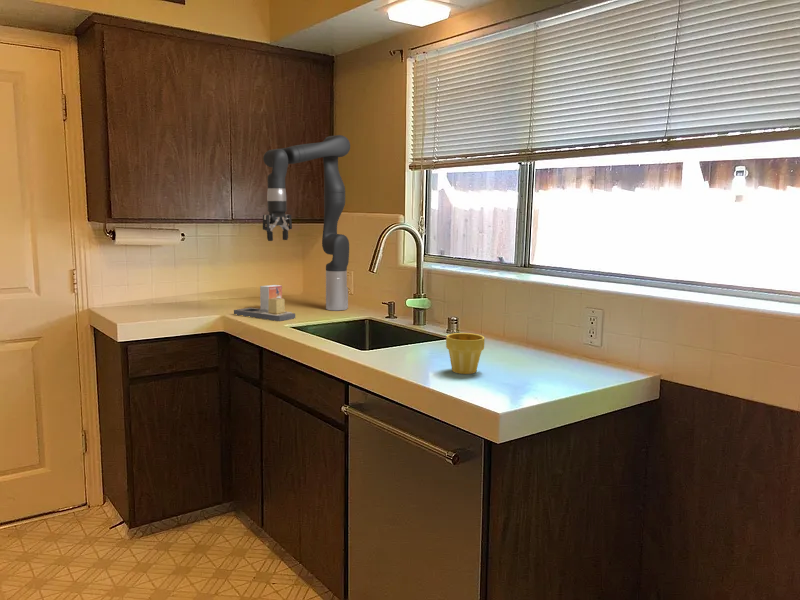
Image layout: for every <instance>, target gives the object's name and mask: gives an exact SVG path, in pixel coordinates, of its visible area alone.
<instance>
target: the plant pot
mask: <svg viewBox="0 0 800 600" xmlns="http://www.w3.org/2000/svg"><path fill="white" fill-rule="evenodd" d="M445 340H446V341H445V347H446V349H447V350H448V353H449V360H450V366H451V371H452V372H453V373H455V374H458V375H459V374H460V375H471V374H475V373H477V372H478V371H477V369H478V368H479V367H478V366H479V362H480V358H481V355H482V351H484V349H485V340H486V339H485V336H483V335H481V334H477V333H472V332H471V333H470V332H457V333H456V332H455V333H449V334H447V335H446V338H445Z"/></svg>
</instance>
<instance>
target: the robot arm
mask: <svg viewBox="0 0 800 600" xmlns="http://www.w3.org/2000/svg"><path fill="white" fill-rule="evenodd" d="M350 151H351V143H350V140H349V139H348V137H346V136H344V135H341V134H337V135H329V136H326V137H325V138H324V139H323V141H321V142H320V141H319V142H312V143H302V144H296V145H290V146H289V147H283V148H274V149H269V150H266V152H265V153H264V154H263V158H262V159H263V162H264V164H265V166H267V167H268V168H271V170H272V171H271V173H269V174H268V175H267V193H266V196H267V200H266V201H267V212H268V214H263V215H262V230H263V231H266V239H267V241H268V242H272V241H273V240H274V235H273V234H274V232H273V230H274V228H276V226H279V227H280V228H281V229H282V240H283V241H288V239H289V231H290V230H292V228H293V225H292V223H293V222H292V214H287V213H286V212H287V210H288V209H287V192H286V177H287V173H288V172H287V171H288V167H289V165H293V164H295V165H296V164H299V163H305V162H309V161H312V160H316V159H321V158H322V160H323V161H322V162H323V177H324V178H323V182H324V183H323V184H324V185H323V186H324V187H323V189H324V190H323V192H324V193H323V202H324V203H323V204H324V205H323V209H324V210H323V227H322V229H323V230H322V238H321V246H322V250H323V252H324V253H325V254H327V255H330V256H331V255H332V259H331V261H329V262H327V263H326V264H325V310H329V311H345V310H347V309H349V287H348V284H347V283H348V281H347V280H348V275H347V274H348V273H347V272H348V266H349V260H350V259H349V258H350V242H349V239H348V237H347V235H346V234H345V235H344V234H341V233H340V234H339V233H338V222H339V219H340V217H341V215H342V212H343V211H344V209H345V206H346V187H345V183H344V181H343V179H342V178H343V177H342V176H341V174H340V170H339V158H343V157H345V156H346V155H348V154H349V152H350Z"/></svg>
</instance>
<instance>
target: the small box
mask: <svg viewBox="0 0 800 600" xmlns="http://www.w3.org/2000/svg"><path fill="white" fill-rule="evenodd" d="M259 289H260V294H259V296H260V298H259V299H260V300H259V301H260V302H259V303H260V306H259V307H260V308H259V309H265V310H268V299H271V298H283V285H282V284H281V285H279V284H271V285H269V284H268V285H260V286H259Z"/></svg>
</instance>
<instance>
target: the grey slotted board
mask: <svg viewBox="0 0 800 600" xmlns="http://www.w3.org/2000/svg"><path fill="white" fill-rule="evenodd" d="M234 314H237V315H236V316H239V315H243V316H242V317H246V316H250V317H249V318H253V317H256V318H255V319H260V318H262V320H267V319H269V321H274V320H275V322H282V321H288V320H294V318H295V319H296V313H294V312H292V311H286V310H285V313H281V314H271V313H269V311H268V310H265V309H260V308H257V307H256V308H255V307H245V308H237V309H233V315H234Z"/></svg>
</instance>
